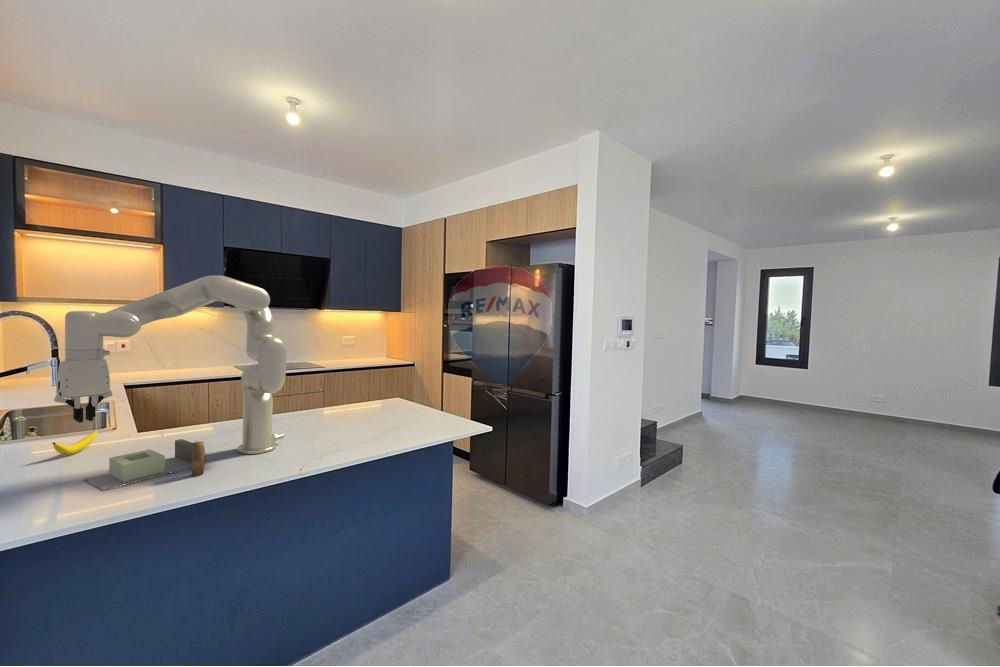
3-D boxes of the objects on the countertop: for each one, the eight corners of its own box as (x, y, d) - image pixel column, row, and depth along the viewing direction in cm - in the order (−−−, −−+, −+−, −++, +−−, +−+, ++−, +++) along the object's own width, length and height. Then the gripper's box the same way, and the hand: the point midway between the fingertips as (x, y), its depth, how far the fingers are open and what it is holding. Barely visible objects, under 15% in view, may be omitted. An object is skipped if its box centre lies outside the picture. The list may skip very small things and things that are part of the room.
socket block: (149, 464, 135) (149, 449, 134) (164, 471, 130) (164, 455, 130) (109, 474, 126) (109, 457, 126) (123, 481, 121) (123, 464, 121)
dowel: (200, 471, 132) (200, 440, 131) (205, 474, 130) (205, 442, 130) (189, 474, 129) (190, 443, 129) (194, 477, 128) (195, 445, 127)
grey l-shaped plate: (181, 455, 145) (181, 438, 144) (204, 465, 137) (204, 447, 137) (83, 479, 123) (83, 459, 122) (104, 491, 115) (104, 470, 115)
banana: (102, 443, 153) (102, 426, 153) (58, 462, 135) (58, 442, 134) (93, 443, 153) (93, 426, 152) (47, 462, 134) (47, 442, 134)
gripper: (115, 352, 124) (114, 413, 125) (39, 356, 111) (39, 424, 111) (126, 355, 121) (125, 417, 121) (49, 358, 107) (49, 429, 108)
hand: (84, 420), depth 116 cm, fingers closed
